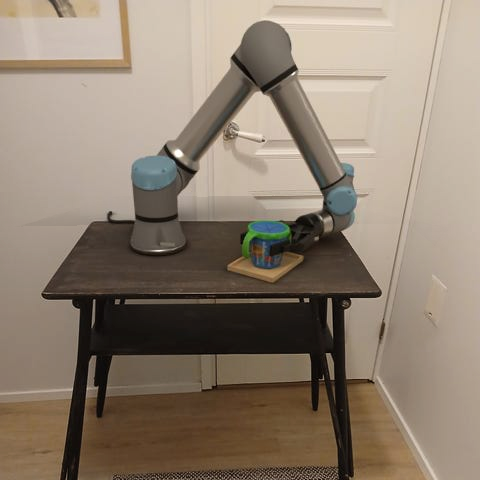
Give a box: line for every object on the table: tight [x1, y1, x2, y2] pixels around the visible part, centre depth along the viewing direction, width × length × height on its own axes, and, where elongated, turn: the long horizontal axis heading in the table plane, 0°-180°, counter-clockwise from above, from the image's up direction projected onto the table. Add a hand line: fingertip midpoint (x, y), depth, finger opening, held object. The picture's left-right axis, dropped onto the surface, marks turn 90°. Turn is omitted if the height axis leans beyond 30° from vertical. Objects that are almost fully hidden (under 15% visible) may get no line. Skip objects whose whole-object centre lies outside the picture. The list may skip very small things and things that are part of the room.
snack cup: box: [241, 220, 292, 269], centre depth 125 cm, size 16×10×10 cm
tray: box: [226, 251, 304, 284], centre depth 127 cm, size 13×17×1 cm
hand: (255, 245), depth 121 cm, fingers closed on snack cup, 10 cm apart
